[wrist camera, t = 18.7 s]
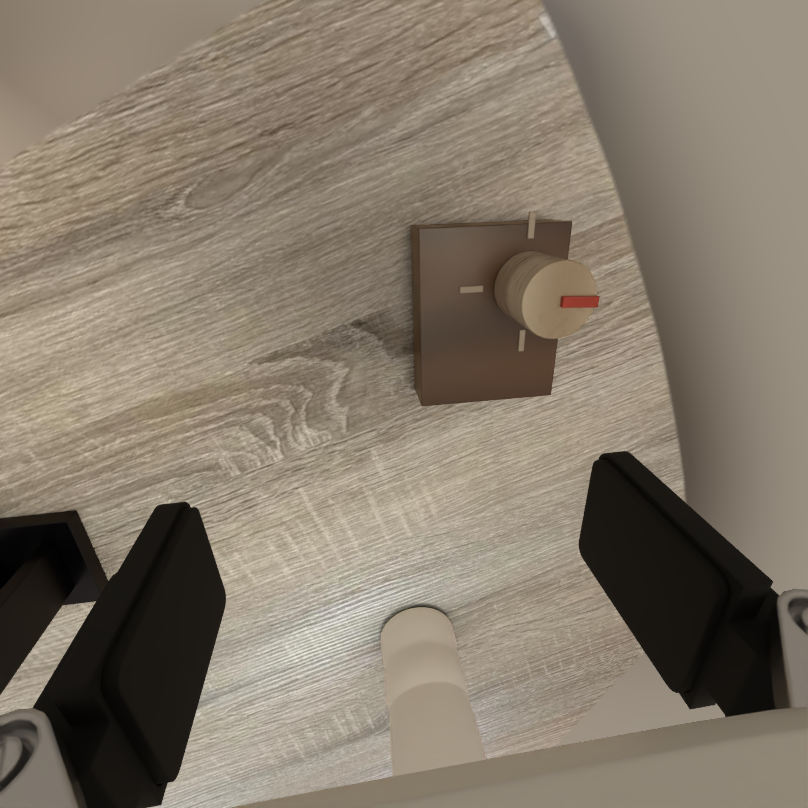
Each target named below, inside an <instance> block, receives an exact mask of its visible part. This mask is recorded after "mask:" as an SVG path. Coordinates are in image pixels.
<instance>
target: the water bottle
mask: <svg viewBox="0 0 808 808" xmlns="http://www.w3.org/2000/svg"><path fill="white" fill-rule="evenodd" d="M381 652H382V659H383V665H384V669H385V694H386V702H387V707H388V710H389V714H390V741H391V758H392V771H393V777H394V776H399V775H405V774H410V773H416V772H421V771H426V770H432V769H437V768H443V767H448V766H453V765H459V764H464V763H470V762H475V761H480V760H486V759H487V758H486V754H485V750H484V747H483V743H482V740H481V736H480V732H479V729H478V726H477V722H476V719H475V716H474V713H473V710H472V707H471V705H470V702H469V699H468V688H467V682H466V678H465V674H464V670H463V667H462V665H461V662H460V660H459V658H458V651H457V644H456V639H455V635H454V631H453V627H452V624H451V622H450V620H449V619H448V618H447V616H446V615H444V614H443V613H441V612H440V611H438V610H435V609H432V608H427V607H417V608H411V609H407V610H404V611H402V612H400V613H398V614H396V615H395V616H394V617H392V618H391V619H390V620H389V621H388V622H387V623H386V625H385V626H384V628H383V630H382V633H381Z"/></svg>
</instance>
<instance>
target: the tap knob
mask: <svg viewBox="0 0 808 808" xmlns="http://www.w3.org/2000/svg"><path fill="white" fill-rule="evenodd" d="M494 294H495V299H496V302H497V304H498V306H499V308H500V309H501V310H502V311H503V312H504V313H505V314H507V315H508V316H509V317H511V318H512V319H514V320H515V321H517V322H518V323H520V324H521V325H523V326H524V327H526V328H527V329H528V330H530V331H531V332H533V333H534V334H536V335H538V336H540V337H543V338H547V339H557V338H562V337H565V336H568V335H570V334H572V333H573V332H575V331H576V330H578V329H579V328H580V327H581V326H582V325H583V324H584V323H585V322H586V321H587V319H588V318H589V316H590V315H591V313H592V311H593V308H594V307H598V302H599V296H596V295H597V290H596V284H595V280H594V278H593V276H592V274H591V272H590V271H589V270H588V269H587V268H586V267H585V266H583V265H582V264H580V263H578V262H575V261H571V260H567V259H564V258H560V257H556V256H552V255H548V254H544V253H540V252H536V251H526V252H522V253H519V254H517V255H515V256H513V257H512V258H510V259H509V260H508V261H507V262H506V263H505V264H504V265H503V266H502V268H501V269H500V271H499V273H498V275H497V277H496V281H495V286H494Z"/></svg>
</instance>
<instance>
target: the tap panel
mask: <svg viewBox="0 0 808 808" xmlns="http://www.w3.org/2000/svg"><path fill="white" fill-rule="evenodd" d="M535 217H536V212H529V218H528V220H527V221H504V222H481V223H458V224H435V225H412V226H411V253H412V293H413V333H414V373H415V390H416V393H417V395H418V398H419V400H420V403H421V405H422V406H431V405H442V404H454V403H465V402H477V401H488V400H500V399H511V398H522V397H534V396H545V395H551V390H552V382H553V374H554V365H555V357H556V349H557V341H558V338H557V339H547V338H543V337H540V336H538V335H536V334H534V333H533V332H531V331H530V330H528V329H527V328H526V327H524V326H523V325H521V324H520V323H518V322H517V321H515V320H514V319H512V318H511V317H509V316H508V315H507V314H505V313H504V312H503V311H502V310H501V309H500V308H499V306H498V304H497V302H496V299H495V294H494V286H495V281H496V277H497V275H498V273H499V271H500V269H501V268H502V266H503V265H504V264H505V263H506V262H507V261H508V260H509V259H510V258H512V257H513V256H515V255H517V254H519V253H522V252H526V251H536V252H540V253H544V254H548V255H552V256H556V257H560V258H564V259H568V251H569V243H570V235H571V227H572V221H561V220H535Z"/></svg>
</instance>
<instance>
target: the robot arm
mask: <svg viewBox="0 0 808 808" xmlns="http://www.w3.org/2000/svg"><path fill="white" fill-rule="evenodd" d="M579 550H580V553H581V556H582V558H583V559H584V561H585V562H586V564H587V565H588V567H589V568H590V570H591V571H592V573H593V575H594V576H595V578H596V579H597V581H598V582H599V584H600V585H601V587H602V588H603V590H604V591H605V593H606V594H607V596H608V597H609V599H610V600H611V602H612V603H613V605H614V606H615V608H616V609H617V611H618V612H619V614H620V615H621V617H622V618H623V620H624V621H625V623H626V624H627V626H628V627H629V629H630V630H631V632H632V633H633V635H634V636H635V638H636V639H637V641H638V642H639V644H640V645H641V647H642V648H643V650H644V651H645V653H646V654H647V656H648V657H649V659H650V660H651V662H652V663H653V665H654V666H655V668H656V669H657V671H658V672H659V674H660V675H661V677H662V678H663V680H664V681H665V683H666V684H667V685H668V687H669V688H670V689H671V690H672V691H674V692H676V693H678V692H679V694H680V695H681V697H682V698H683V700H684V701H685V703H686V704H687V705H688V707H689V709H695V708H700V707H705V706H711V705H715V704H716V703H717V704H718V706H719V707H720V709H721V710H722V711H723V713H724V714H725V717H723V718H717V719H711V720H705V721H698V722H691V723H686V724H680V725H675V726H669V727H663V728H658V729H652V730H647V731H641V732H636V733H630V734H624V735H618V736H613V737H607V738H602V739H596V740H590V741H585V742H579V743H573V744H568V745H562V746H557V747H551V748H546V749H540V750H535V751H530V752H524V753H519V754H513V755H508V756H502V757H497V758H491V759H486V760H480V761H475V762H470V763H464V764H459V765H453V766H448V767H443V768H437V769H432V770H426V771H421V772H416V773H410V774H405V775H399V776H394V777H389V778H383V779H378V780H373V781H368V782H362V783H357V784H352V785H347V786H341V787H336V788H331V789H325V790H320V791H315V792H310V793H304V794H299V795H294V796H289V797H283V798H278V799H273V800H268V801H262V802H257V803H252V804H247V805H242V806H237V807H232V808H808V590H802V589H801V590H800V589H792V590H789V591H784V592H783V593H782V594H781V595H780V596H779V595H778V594H777V593H776V592H775V591H774V590H773V589H772V588H770V587H771V585H772V583H773V581H772V580H771V579H770V578H769V577H768V576H766V575H765V574H764V573H763V572H762V571H761V570H760V569H759V568H757V567H756V566H755V565H754V564H753V563H752V562H751V561H750V560H749V559H747V558H746V557H745V556H744V555H743V554H742V553H741V552H740V551H739V550H738V549H736V548H735V547H734V546H733V545H732V544H731V543H730V542H728V541H727V540H726V539H725V538H724V537H723V536H722V535H721V534H719V532H717V531H716V530H715V529H714V528H713V527H712V526H711V525H710V524H709V523H707V522H706V521H705V520H704V519H703V518H702V517H701V516H700V515H698V514H697V513H696V512H695V511H694V510H693V509H692V508H691V507H690V506H688V505H687V504H686V503H685V502H684V501H683V500H682V499H681V498H680V497H678V496H677V495H676V494H675V493H674V492H673V491H672V490H671V489H670V488H668V487H667V486H666V485H665V484H664V483H663V482H662V481H661V480H660V479H658V478H657V477H656V476H655V475H654V474H653V473H652V472H651V471H649V470H648V469H647V468H646V467H645V466H644V465H643V464H642V463H641V462H639V461H638V460H637V459H636V458H635V457H634V456H633V455H632V454H630V453H629V452H626V451H622V452H613V453H605V454H602V455H601V456H600V457H599V460H597V461H595V462H594V463H593V466H592V472H591V477H590V483H589V488H588V494H587V499H586V505H585V511H584V516H583V522H582V527H581V533H580V538H579ZM225 604H226V594H225V589H224V586H223V583H222V580H221V577H220V574H219V571H218V568H217V564H216V561H215V558H214V555H213V552H212V549H211V546H210V543H209V540H208V537H207V534H206V531H205V528H204V524H203V521H202V518H201V515H200V512H199V510H198V509H197V508H196V507H193V508H191V507H190V505H189V504H188V503H187V502H180V503H171V504H162V505H158V506H157V507H156V508H155V509H154V511H153V513H152V514H151V516H150V518H149V520H148V521H147V523H146V525H145V526H144V528H143V530H142V531H141V533H140V535H139V537H138V538H137V540H136V542H135V543H134V545H133V547H132V548H131V550H130V552H129V554H128V555H127V557H126V559H125V560H124V562H123V564H122V565H121V567H120V569H119V571H118V572H117V573H116V574H114V575H113V576H112V577H111V579H110V580H109V581H108V583H107V584H106V586H105V588H104V589H103V591H102V593H101V594H100V596H99V598H98V599H97V601H96V603H95V604H94V606H93V608H92V609H91V611H90V613H89V615H88V616H87V618H86V620H85V621H84V623H83V625H82V626H81V628H80V630H79V631H78V633H77V635H76V636H75V638H74V640H73V641H72V643H71V645H70V646H69V648H68V650H67V651H66V653H65V655H64V656H63V658H62V660H61V661H60V663H59V665H58V666H57V668H56V670H55V671H54V673H53V675H52V676H51V678H50V680H49V681H48V683H47V685H46V686H45V688H44V690H43V691H42V693H41V695H40V697H39V698H38V700H37V702H36V703H35V705H34V707H33V708H31V709H18V710H15V711H12V712H9V713H6V714H3V715H1V716H0V808H147V807H153V806H158V805H161V803H162V800H163V797H164V793H165V790H166V786H167V783H168V782H173V781H174V780H175V779H176V777H177V775H178V773H179V770H180V767H181V764H182V760H183V757H184V753H185V749H186V746H187V742H188V739H189V735H190V731H191V728H192V724H193V721H194V717H195V713H196V710H197V706H198V703H199V699H200V695H201V692H202V688H203V685H204V681H205V677H206V674H207V670H208V667H209V663H210V660H211V656H212V652H213V649H214V645H215V642H216V638H217V634H218V631H219V627H220V624H221V620H222V616H223V613H224V609H225Z"/></svg>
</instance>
